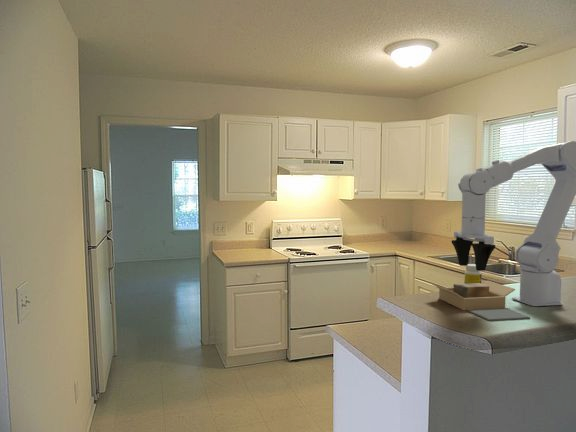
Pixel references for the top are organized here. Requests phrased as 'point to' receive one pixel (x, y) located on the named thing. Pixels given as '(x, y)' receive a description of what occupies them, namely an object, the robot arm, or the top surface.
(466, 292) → the box
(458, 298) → the carton
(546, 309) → the top surface
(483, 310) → the mat
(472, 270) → the supplement bottle
